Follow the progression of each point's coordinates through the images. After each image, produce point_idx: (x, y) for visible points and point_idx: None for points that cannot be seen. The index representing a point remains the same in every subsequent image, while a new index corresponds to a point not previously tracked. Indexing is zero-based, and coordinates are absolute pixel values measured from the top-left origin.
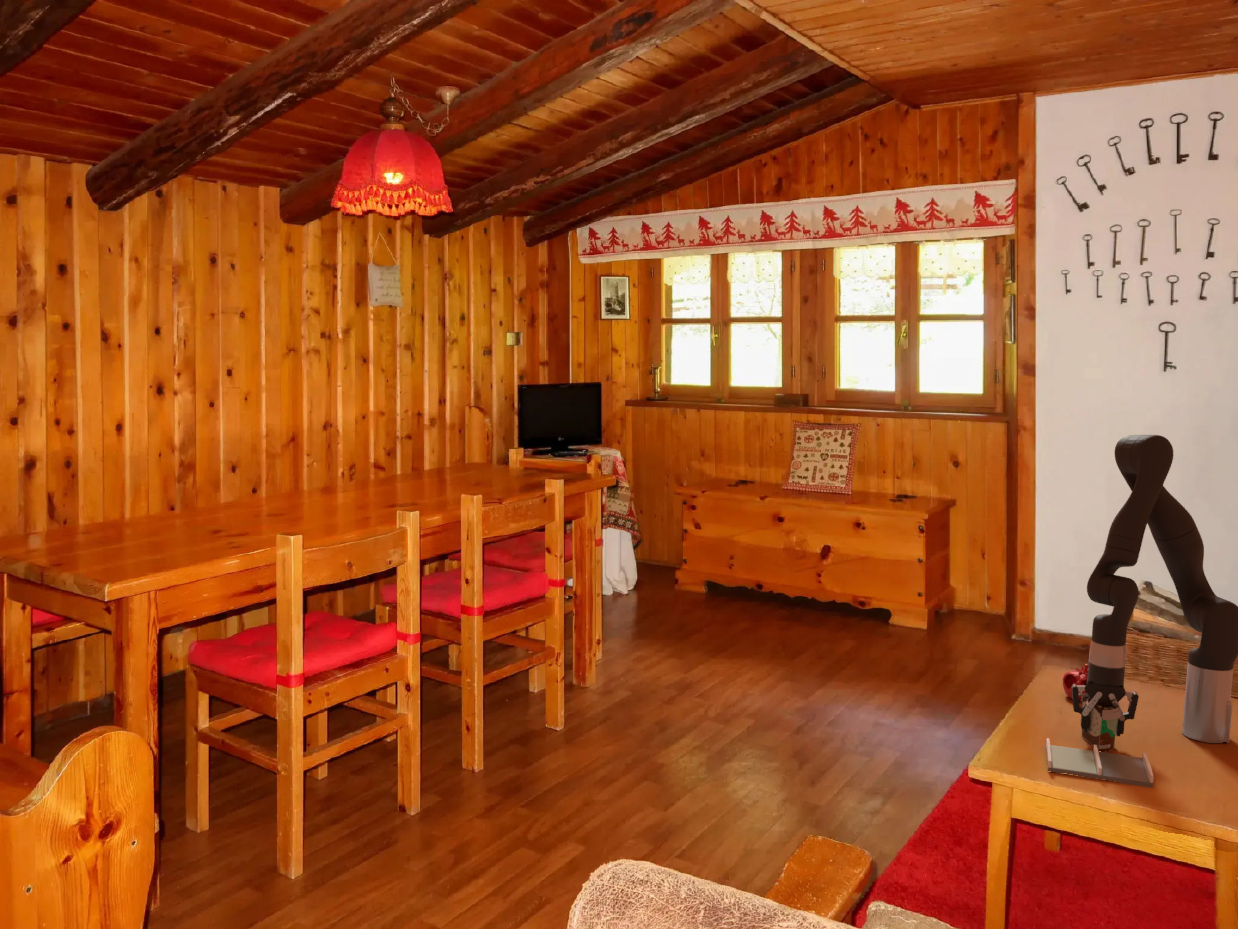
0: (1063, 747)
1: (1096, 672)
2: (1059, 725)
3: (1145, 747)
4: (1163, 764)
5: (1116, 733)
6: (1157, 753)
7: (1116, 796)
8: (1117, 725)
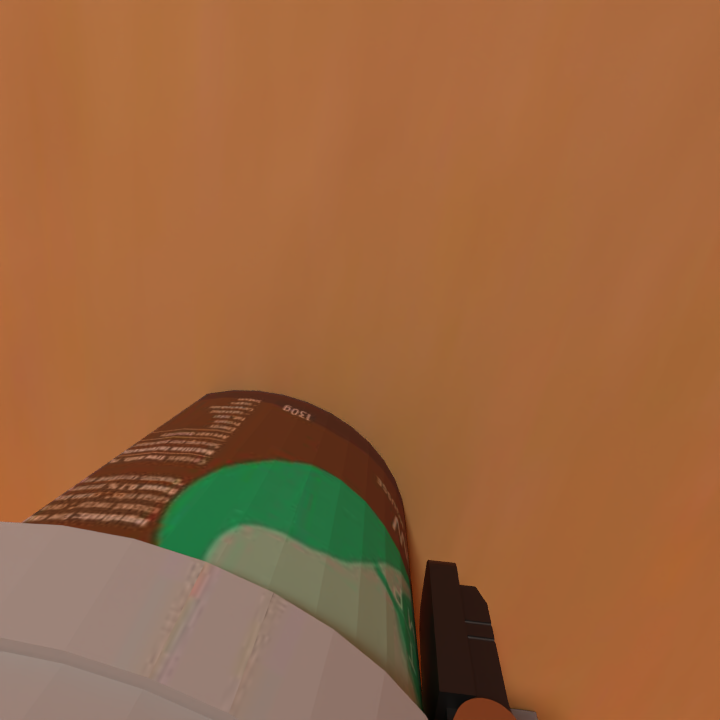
0: None
1: None
2: (35, 172)
3: (644, 480)
4: (645, 711)
5: (423, 601)
6: (687, 566)
7: None
8: (425, 698)
